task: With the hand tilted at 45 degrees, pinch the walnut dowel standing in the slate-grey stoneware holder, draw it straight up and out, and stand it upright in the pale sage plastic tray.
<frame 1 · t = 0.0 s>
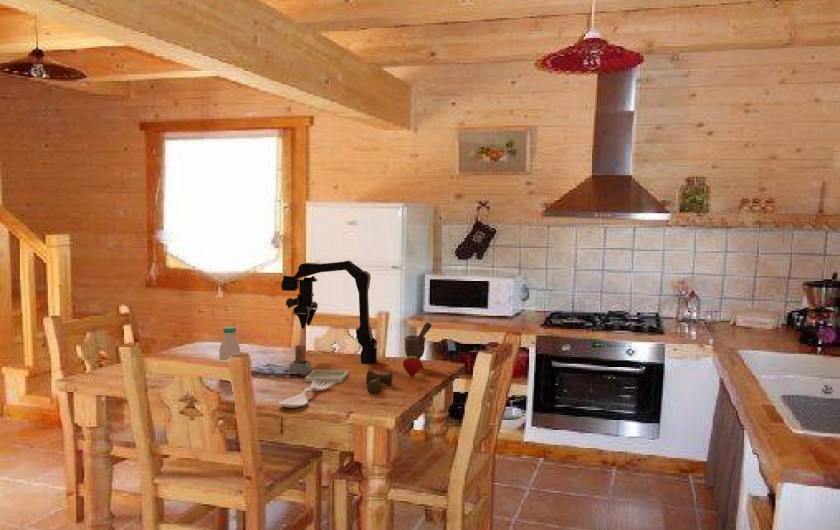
hand: (305, 327, 285), 15 cm above the table, tool pointing down, fingers open, 9 cm apart
kendama: (378, 388, 241), on the table
milk bottle: (229, 379, 250), on the table
walnut dowel: (300, 372, 259), point 1 cm above the table, touching stoneware holder
stoneware holder: (300, 374, 260), on the table
mortar and pestle: (418, 368, 274), on the table
sage tray: (327, 379, 252), on the table
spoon: (307, 399, 225), on the table
strawberry: (412, 377, 258), on the table
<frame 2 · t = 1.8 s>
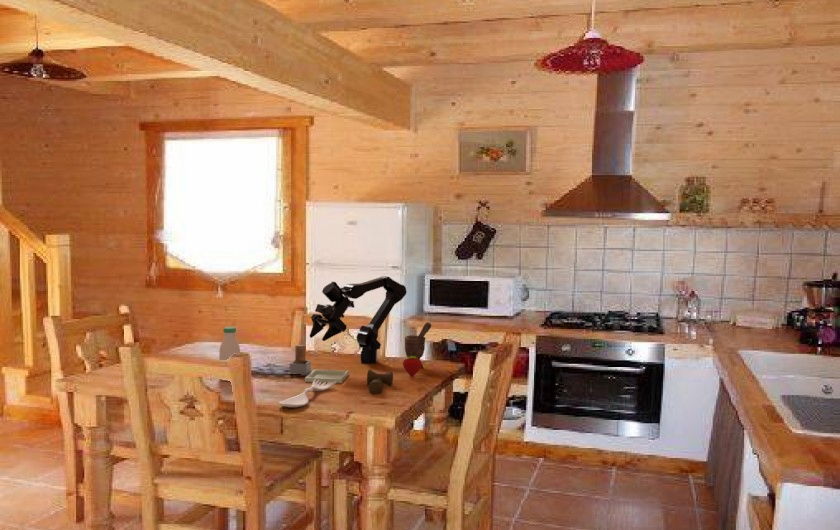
hand: (316, 338, 265), 13 cm above the table, tool tilted 45°, fingers open, 9 cm apart
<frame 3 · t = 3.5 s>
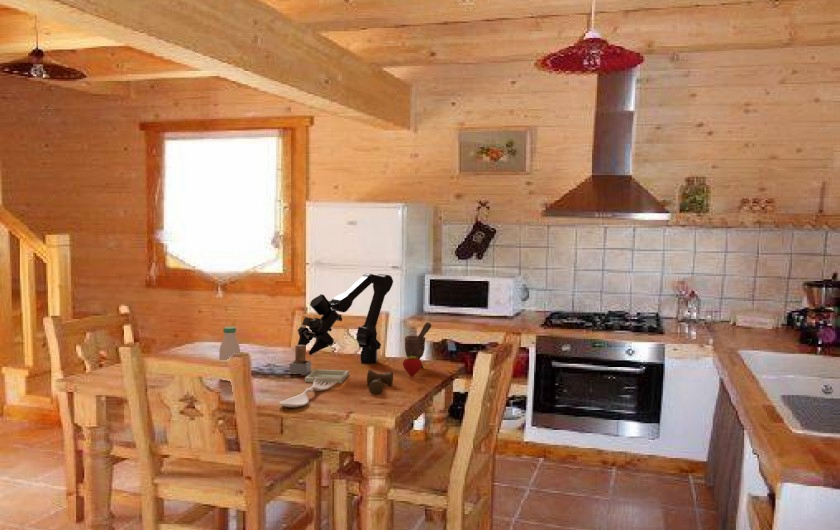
hand: (302, 352, 260), 9 cm above the table, tool tilted 45°, fingers open, 9 cm apart
nothing on the table moved.
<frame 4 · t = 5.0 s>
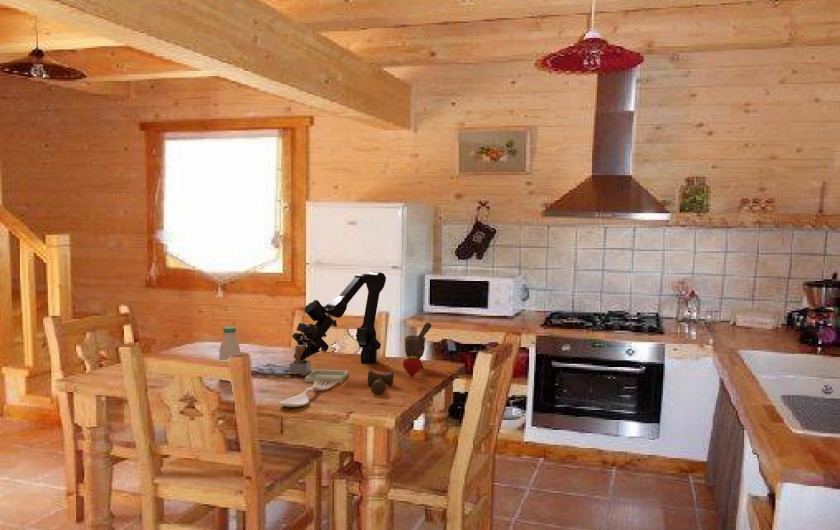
hand: (297, 358, 258), 7 cm above the table, tool tilted 45°, fingers closed on walnut dowel, 4 cm apart
walnut dowel: (300, 372, 259), point 1 cm above the table, touching gripper, stoneware holder
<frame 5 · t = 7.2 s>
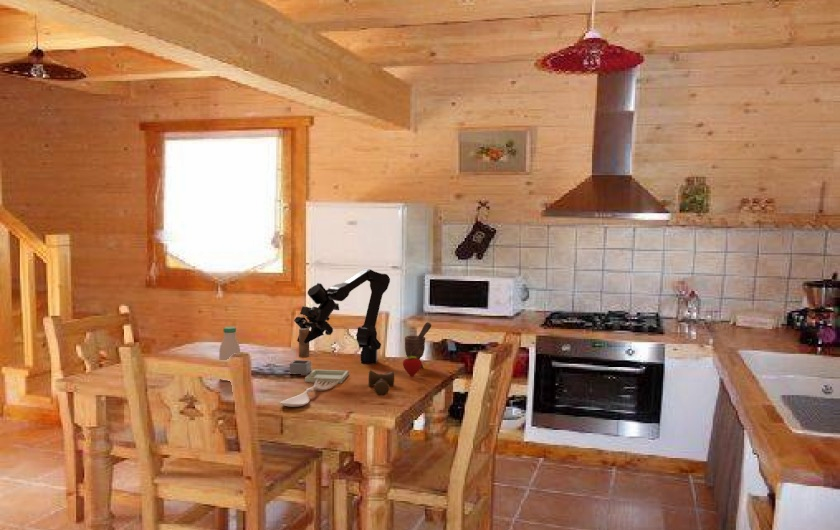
hand: (301, 342, 256), 14 cm above the table, tool tilted 45°, fingers closed on walnut dowel, 4 cm apart
walnut dowel: (304, 356, 257), point 8 cm above the table, touching gripper
when the fingers open (8 cm above the table, at t = 9.8 s): walnut dowel drops 1 cm, resting on sage tray.
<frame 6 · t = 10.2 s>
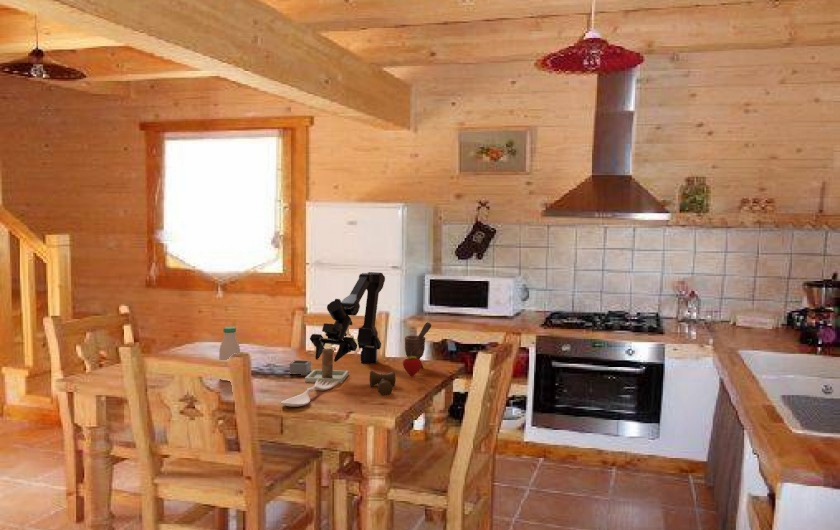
hand: (325, 360, 250), 8 cm above the table, tool tilted 45°, fingers open, 8 cm apart
walnut dowel: (327, 377, 251), point 1 cm above the table, touching sage tray
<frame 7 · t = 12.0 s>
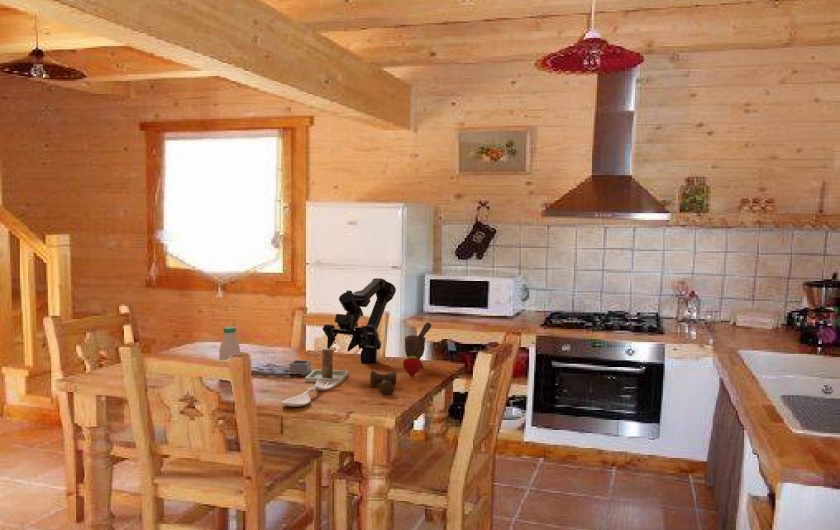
hand: (338, 349, 258), 10 cm above the table, tool tilted 45°, fingers open, 9 cm apart
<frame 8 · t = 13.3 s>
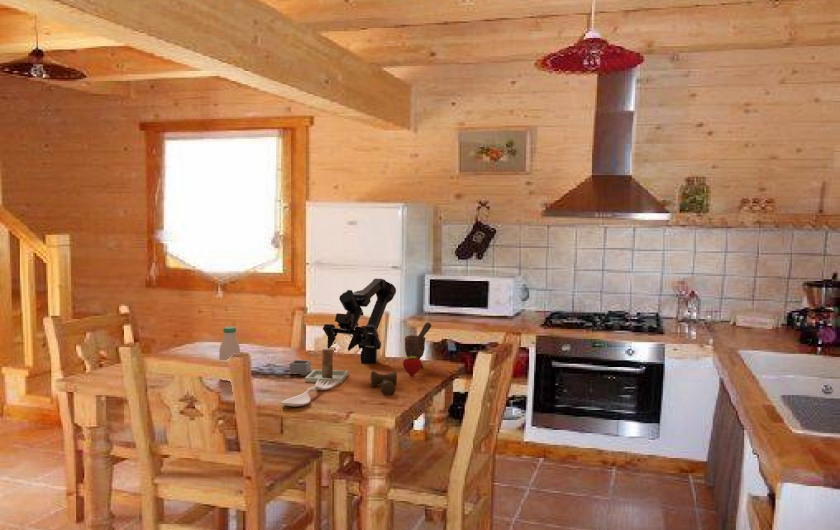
hand: (338, 349, 258), 11 cm above the table, tool tilted 45°, fingers open, 9 cm apart
at the end: walnut dowel inside the target area on the sage tray (0.0 cm from its centre), point 0.8 cm above the sage tray's base; walnut dowel tilted 0°; the gripper is holding nothing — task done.
